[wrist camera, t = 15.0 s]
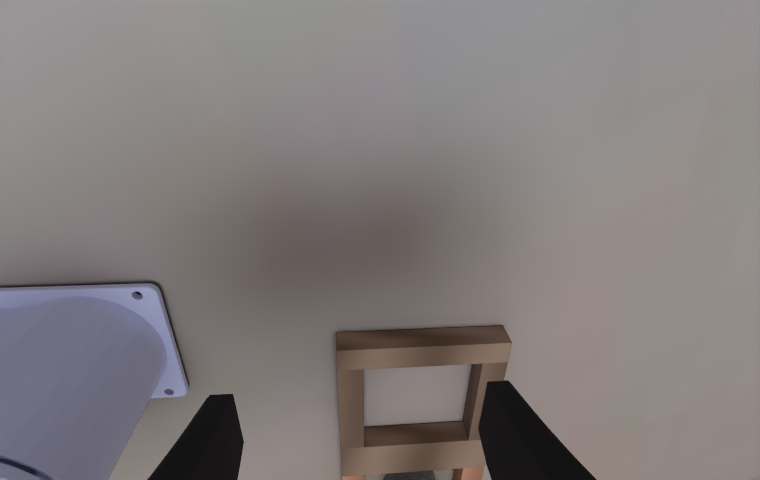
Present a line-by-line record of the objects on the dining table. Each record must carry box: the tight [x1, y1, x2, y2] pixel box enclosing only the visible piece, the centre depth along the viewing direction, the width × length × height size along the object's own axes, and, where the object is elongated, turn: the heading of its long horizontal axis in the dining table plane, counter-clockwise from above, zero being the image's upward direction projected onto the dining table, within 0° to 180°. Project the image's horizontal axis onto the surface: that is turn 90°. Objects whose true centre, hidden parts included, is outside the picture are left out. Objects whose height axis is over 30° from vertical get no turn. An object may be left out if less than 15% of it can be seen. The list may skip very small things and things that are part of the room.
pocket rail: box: [336, 326, 512, 480], centre depth 28 cm, size 10×20×2 cm, turn 179°
